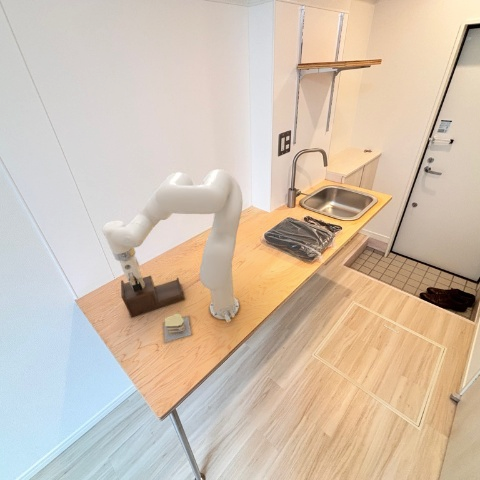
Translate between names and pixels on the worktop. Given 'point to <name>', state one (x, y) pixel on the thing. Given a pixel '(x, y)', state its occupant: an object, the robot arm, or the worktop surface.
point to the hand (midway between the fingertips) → (138, 285)
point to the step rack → (150, 296)
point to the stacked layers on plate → (176, 327)
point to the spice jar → (139, 281)
